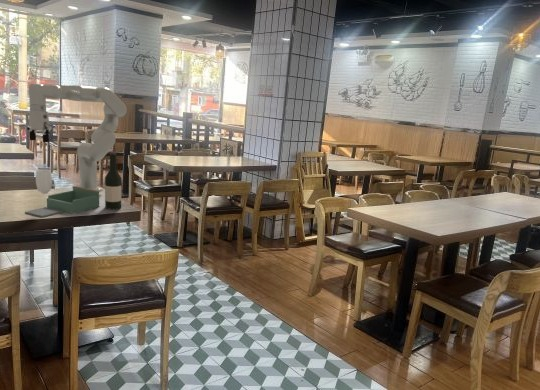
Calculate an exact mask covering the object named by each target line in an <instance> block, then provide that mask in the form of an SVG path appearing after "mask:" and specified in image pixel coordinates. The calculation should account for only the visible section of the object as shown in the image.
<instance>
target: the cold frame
mask: <svg viewBox="0 0 540 390" xmlns="http://www.w3.org/2000/svg"><path fill="white" fill-rule="evenodd" d="M100 193H101V192H100V191H98V190H92V189H87V188H82V187H80V186H77V185H76V186H75V185H72V190H68V191H64V192H58V193H54V194H48V195H47V197H46V207H47V208H52V209H56V210H61V211H63V213H69V214H76V213H80V212H84V211H87V210H93V209H95V208H100V197H99V194H100Z"/></svg>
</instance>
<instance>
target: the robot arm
mask: <svg viewBox="0 0 540 390" xmlns="http://www.w3.org/2000/svg"><path fill="white" fill-rule="evenodd" d="M28 94H29V95H28V97H29V98H28V99H29V113H28V114H29V115H28V122H27V123H25V125H26V128H27V129H26V130H28V133H29V141H36V137H37V136H36V131H39V132H40V131H41V132H42V142H43V143H49V142H50V133H52V132H51V131H52V128H53V127H52V125H50V118H49V114H48V111H47V99H50V100H68V101H72V102H74V101H75V102H84V103H85V102H88V103H89V102H90V103H101V104H102V103H103V104H104V105H103V113H104V119H103V121H102V122H101V123H100V124H99V125H98V127H97V128H96V129H95V130H94V131H93V132H92V134H91V136H90V140H91V142H92V143H90V142H82V143H81V144H79V145H78V146H77V149H76V154H77V160H78V175H79V176H78V178H79V183H78V184H79V186H78V187H82V188H87V189H92V190H98V191H100V192H99V198H100V197H101V194H100V193H101V192H103V191H104V188H102V187H101V188H98V166H97V165H98V164H97V162H100V161H102V159H103V158H105V156H106V155H107V154H108V153H109V151H110V150H112V148H113V147H114V145H115V144H116V135H115V132H116V131H117V128H118V126H119V118H122V117H124V116H125V115H127V111H128V110H127V106H126V105H125V103H124V101H122V99H120V98H119V97H118V96H117V94H116V93H114V91H113V90H111V89H110V88H108V87H102V86H90V85H89V86H88V85H75V84H73V85H72V84H71V85H65V84H64V85H63V84H52V83H51V84H49V83H46V84H43V83H42V84H41V83H30V84H29V85H28Z"/></svg>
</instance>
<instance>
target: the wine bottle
mask: <svg viewBox="0 0 540 390" xmlns="http://www.w3.org/2000/svg"><path fill="white" fill-rule="evenodd" d="M104 194H105V195H104V203H105V204H104V205H105V206H104V207H105V209H106V210H111V211H112V210H120V209H122V176H121V175H120V173H119V171H118V169H117V153H116V152H110V154H109V171H108V172H107V173H106V175H105V176H104Z"/></svg>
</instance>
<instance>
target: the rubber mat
mask: <svg viewBox="0 0 540 390" xmlns="http://www.w3.org/2000/svg"><path fill="white" fill-rule="evenodd" d="M63 213H64V211H61V210H56V209H52V208H47V206H44V207H41V208H36V209H31V210H27V211H24V214H26V215H29V216H34V217H38V216H39V218H42V217H43V218H46V216H47V217H50V216H53V215H58V214H63Z"/></svg>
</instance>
